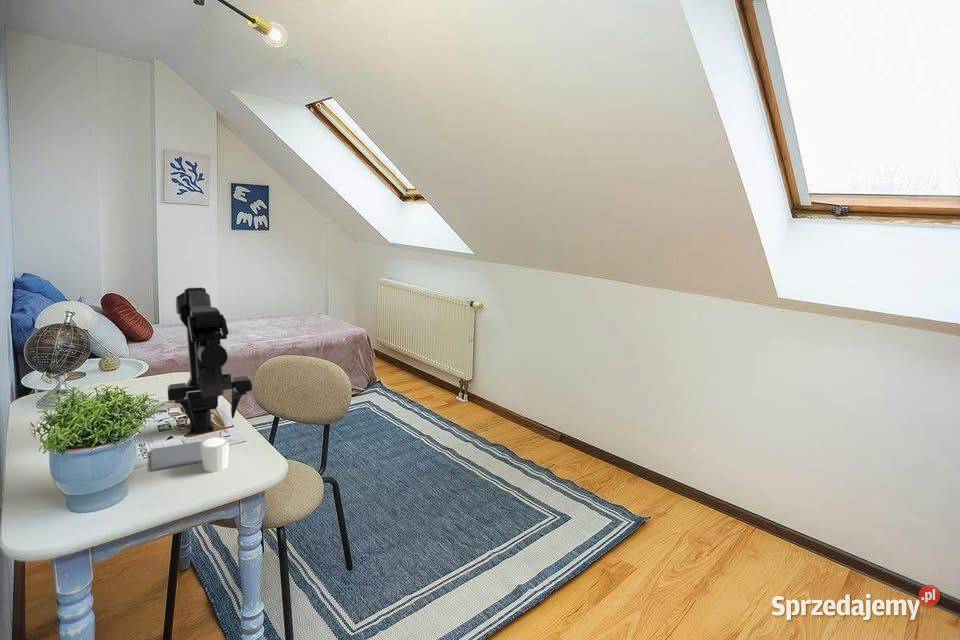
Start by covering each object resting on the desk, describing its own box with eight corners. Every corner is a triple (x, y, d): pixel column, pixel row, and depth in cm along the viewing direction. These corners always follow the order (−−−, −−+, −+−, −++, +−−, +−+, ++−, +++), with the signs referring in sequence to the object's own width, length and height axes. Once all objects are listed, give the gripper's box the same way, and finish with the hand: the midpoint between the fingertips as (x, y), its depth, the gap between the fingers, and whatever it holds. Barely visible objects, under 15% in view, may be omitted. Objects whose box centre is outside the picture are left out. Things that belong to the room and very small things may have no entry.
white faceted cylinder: (218, 475, 137) (217, 449, 135) (194, 470, 138) (193, 445, 136) (236, 462, 143) (235, 438, 142) (213, 458, 144) (211, 434, 143)
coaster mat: (151, 451, 146) (151, 448, 146) (201, 443, 152) (201, 441, 152) (150, 471, 136) (150, 469, 136) (204, 462, 142) (204, 460, 142)
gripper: (165, 372, 124) (170, 437, 126) (253, 363, 133) (256, 424, 135) (165, 362, 133) (170, 422, 136) (247, 354, 142) (250, 411, 145)
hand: (212, 420), depth 138 cm, fingers open, 9 cm apart
